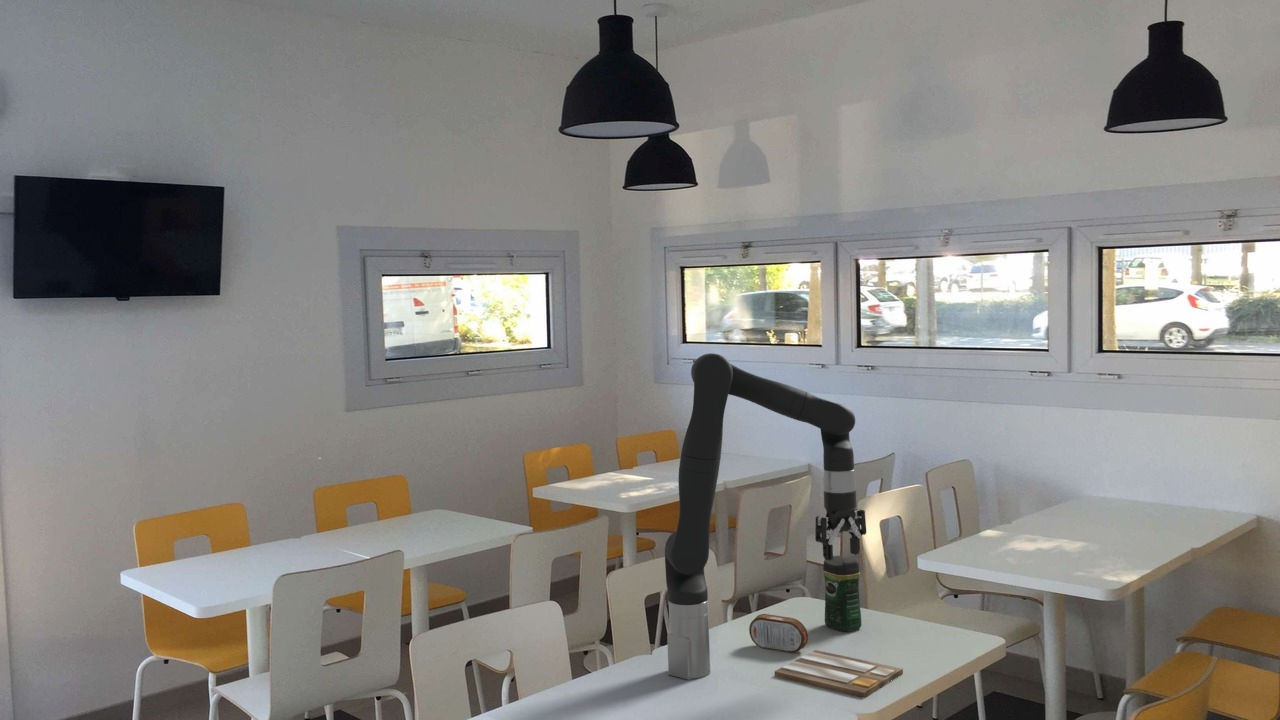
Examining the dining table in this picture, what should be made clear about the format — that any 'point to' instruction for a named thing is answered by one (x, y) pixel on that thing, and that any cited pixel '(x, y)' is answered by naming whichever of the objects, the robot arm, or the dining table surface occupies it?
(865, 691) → the board
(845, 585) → the coffee jar
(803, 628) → the tin
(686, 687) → the dining table surface
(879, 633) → the dining table surface
